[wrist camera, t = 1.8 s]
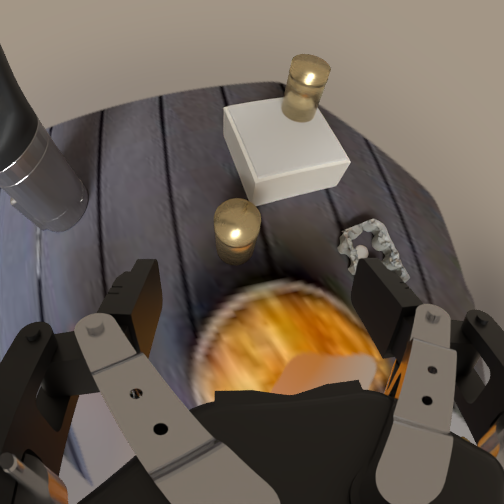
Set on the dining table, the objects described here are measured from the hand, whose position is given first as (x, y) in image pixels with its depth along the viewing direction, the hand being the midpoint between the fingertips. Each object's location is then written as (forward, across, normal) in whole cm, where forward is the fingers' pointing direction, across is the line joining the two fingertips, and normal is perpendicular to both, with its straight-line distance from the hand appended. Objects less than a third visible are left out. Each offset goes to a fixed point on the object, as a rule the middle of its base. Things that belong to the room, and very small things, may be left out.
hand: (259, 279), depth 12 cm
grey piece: (+26, -19, +13) cm, 34 cm away
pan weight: (+35, -9, -8) cm, 36 cm away
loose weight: (+27, 0, +11) cm, 29 cm away
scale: (+37, -7, 0) cm, 38 cm away
